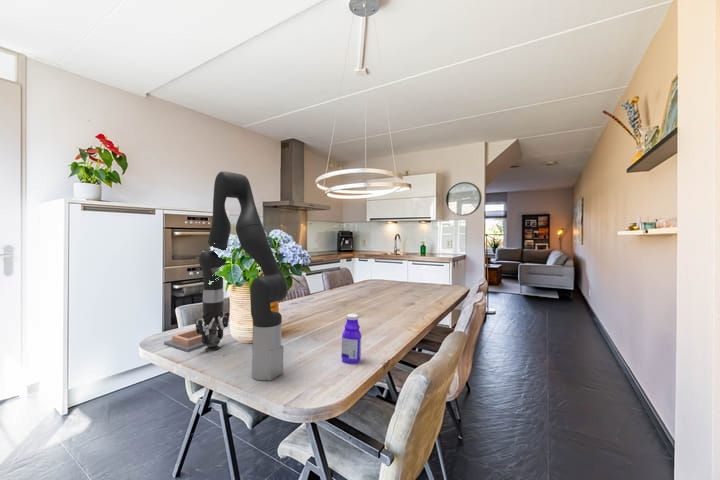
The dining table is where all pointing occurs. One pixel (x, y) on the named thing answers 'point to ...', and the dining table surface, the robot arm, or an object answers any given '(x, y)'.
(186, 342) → the tray
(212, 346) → the dark grey upright piece
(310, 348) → the dining table surface
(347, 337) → the bottle
